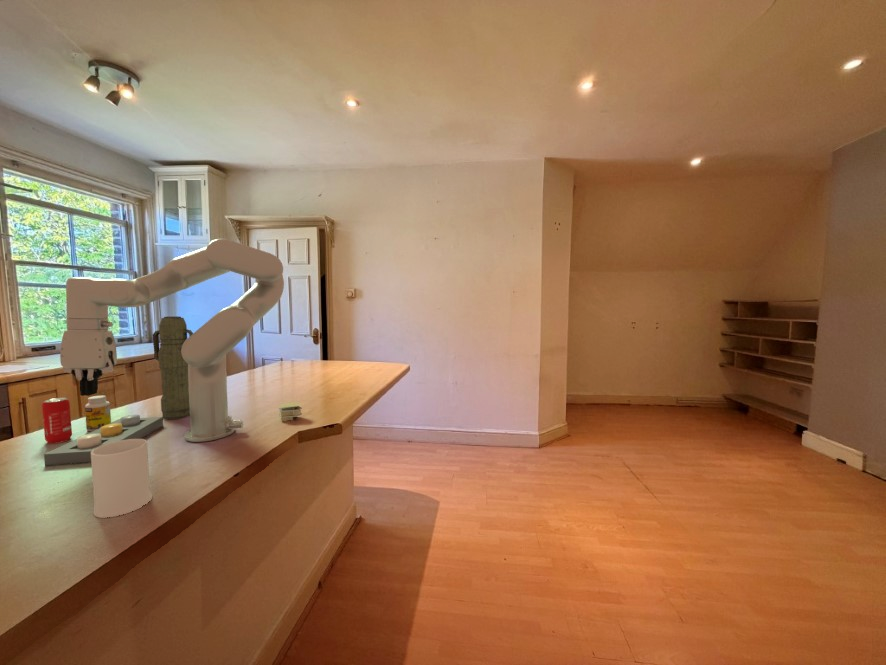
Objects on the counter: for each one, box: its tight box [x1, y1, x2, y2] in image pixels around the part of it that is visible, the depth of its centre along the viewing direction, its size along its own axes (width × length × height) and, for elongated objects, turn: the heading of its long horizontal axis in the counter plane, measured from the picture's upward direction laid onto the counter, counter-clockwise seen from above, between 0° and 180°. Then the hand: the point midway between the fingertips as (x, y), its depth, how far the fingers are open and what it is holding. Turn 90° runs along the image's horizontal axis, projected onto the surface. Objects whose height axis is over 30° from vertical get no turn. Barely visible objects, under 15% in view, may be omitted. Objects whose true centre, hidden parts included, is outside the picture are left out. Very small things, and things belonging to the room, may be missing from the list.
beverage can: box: [41, 397, 73, 445], centre depth 98 cm, size 5×5×12 cm
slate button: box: [119, 414, 141, 426], centre depth 105 cm, size 4×4×3 cm
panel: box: [43, 416, 164, 467], centre depth 97 cm, size 12×26×3 cm, turn 13°
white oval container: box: [90, 438, 153, 519], centre depth 69 cm, size 12×8×12 cm
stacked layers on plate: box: [278, 401, 303, 422], centre depth 119 cm, size 10×9×6 cm
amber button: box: [100, 423, 122, 437], centre depth 97 cm, size 4×4×3 cm
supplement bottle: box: [84, 395, 112, 432], centre depth 108 cm, size 6×6×10 cm
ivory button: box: [76, 434, 102, 449], centre depth 90 cm, size 4×4×3 cm
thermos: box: [152, 316, 194, 420], centre depth 121 cm, size 9×12×35 cm
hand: (88, 394), depth 91 cm, fingers closed
